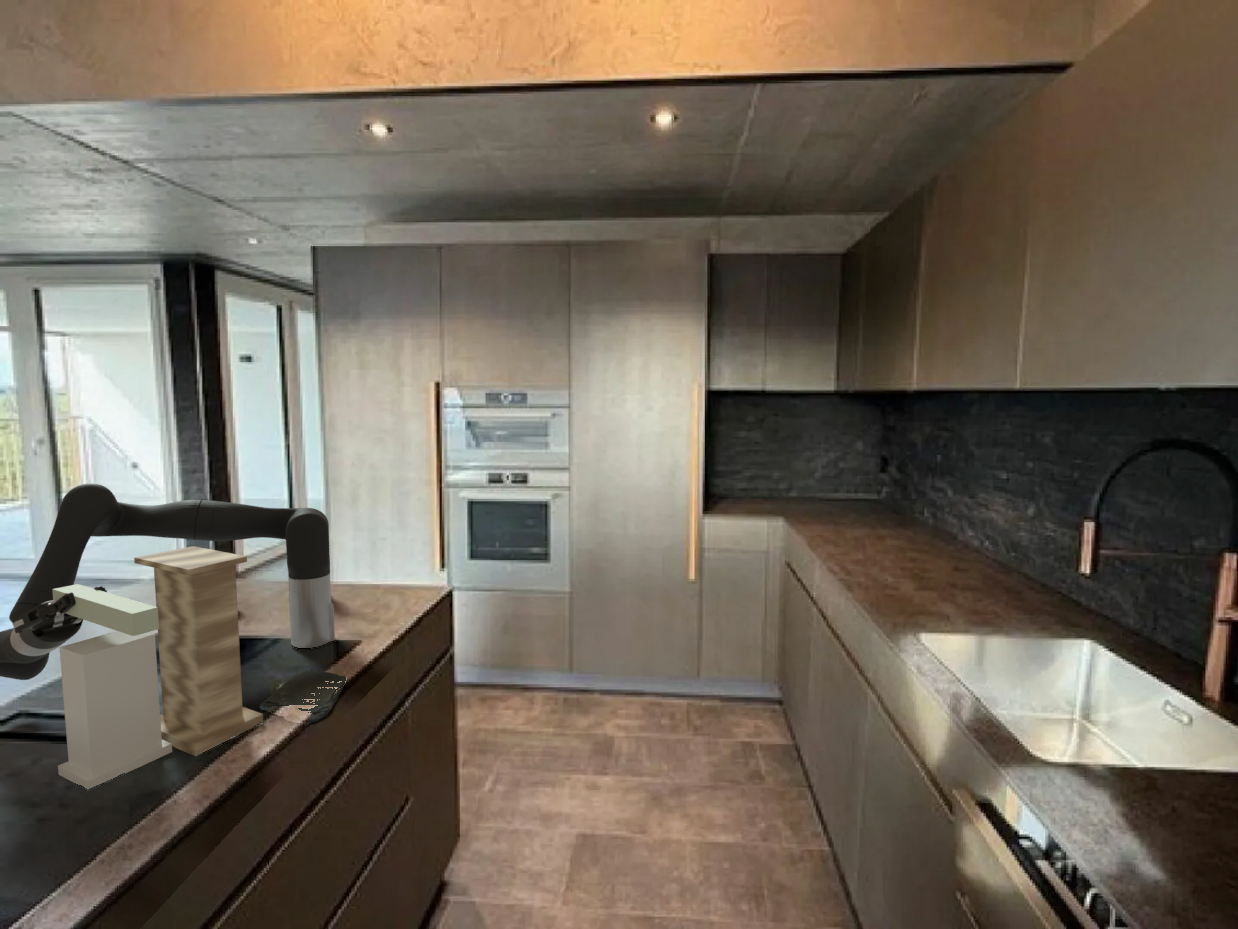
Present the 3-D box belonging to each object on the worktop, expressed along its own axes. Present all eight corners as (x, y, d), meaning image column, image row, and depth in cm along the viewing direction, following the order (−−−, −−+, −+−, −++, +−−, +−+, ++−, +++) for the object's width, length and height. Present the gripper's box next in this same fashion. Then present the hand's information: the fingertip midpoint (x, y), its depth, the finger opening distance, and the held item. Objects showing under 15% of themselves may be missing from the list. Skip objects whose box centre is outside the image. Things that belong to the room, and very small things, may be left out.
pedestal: (58, 774, 100) (48, 648, 98) (142, 738, 111) (134, 624, 109) (88, 790, 96) (78, 659, 94) (172, 752, 107) (164, 633, 105)
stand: (139, 732, 113) (127, 558, 110) (207, 703, 124) (198, 545, 121) (196, 756, 106) (185, 571, 103) (263, 724, 117) (255, 555, 113)
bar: (53, 609, 105) (52, 589, 105) (79, 603, 108) (77, 584, 108) (133, 636, 95) (132, 613, 94) (158, 629, 98) (157, 607, 97)
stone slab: (255, 686, 133) (254, 677, 132) (341, 669, 142) (341, 660, 141) (261, 738, 113) (261, 728, 112) (361, 714, 122) (361, 704, 122)
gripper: (-15, 621, 105) (25, 584, 97) (87, 598, 117) (128, 564, 110) (-1, 663, 104) (40, 629, 96) (100, 635, 116) (142, 603, 109)
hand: (87, 594), depth 103 cm, fingers closed on bar, 3 cm apart
